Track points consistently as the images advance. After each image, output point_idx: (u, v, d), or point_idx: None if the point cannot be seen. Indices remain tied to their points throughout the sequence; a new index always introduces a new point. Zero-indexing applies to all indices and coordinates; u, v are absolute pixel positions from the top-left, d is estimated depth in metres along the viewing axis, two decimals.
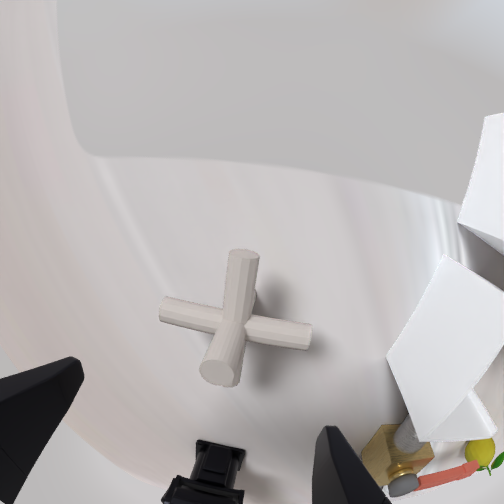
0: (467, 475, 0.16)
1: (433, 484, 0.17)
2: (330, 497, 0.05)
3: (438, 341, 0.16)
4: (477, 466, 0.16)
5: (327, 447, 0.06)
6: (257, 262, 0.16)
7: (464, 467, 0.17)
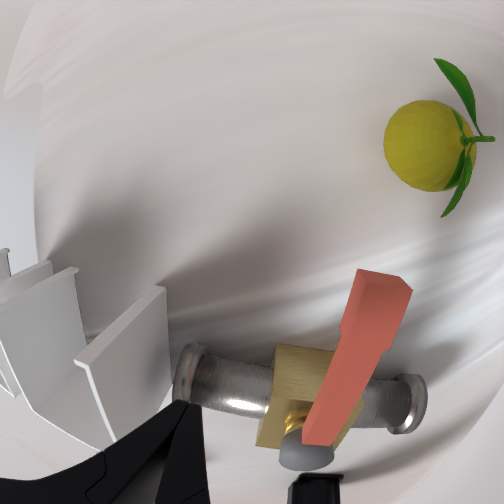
0: (391, 314, 0.10)
1: (331, 421, 0.12)
2: None
3: None
4: (361, 291, 0.10)
5: (180, 422, 0.07)
6: None
7: (342, 335, 0.12)
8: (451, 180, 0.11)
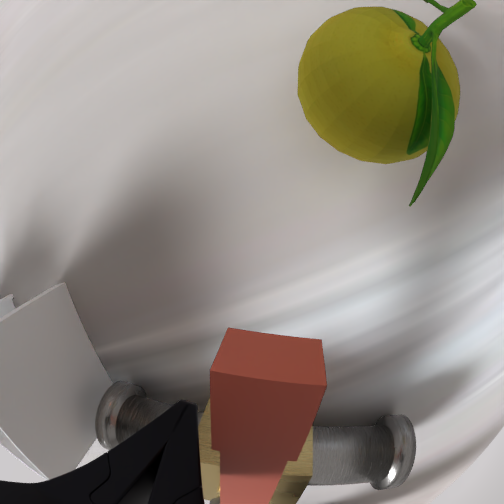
0: (284, 421, 0.05)
1: None
2: None
3: None
4: (213, 380, 0.05)
5: None
6: None
7: None
8: (417, 132, 0.05)
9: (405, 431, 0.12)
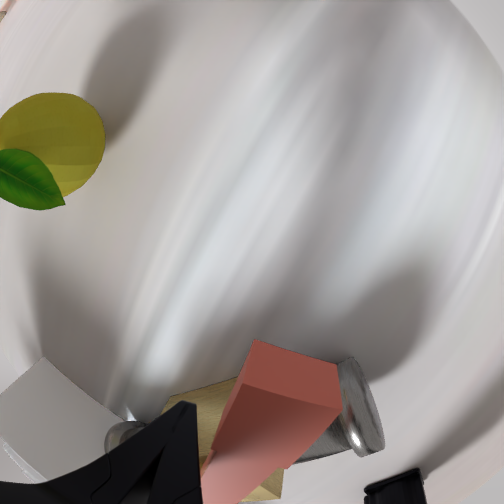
0: (293, 434, 0.05)
1: (213, 502, 0.07)
2: None
3: None
4: (237, 390, 0.05)
5: None
6: None
7: (218, 427, 0.07)
8: (23, 175, 0.08)
9: (341, 379, 0.11)
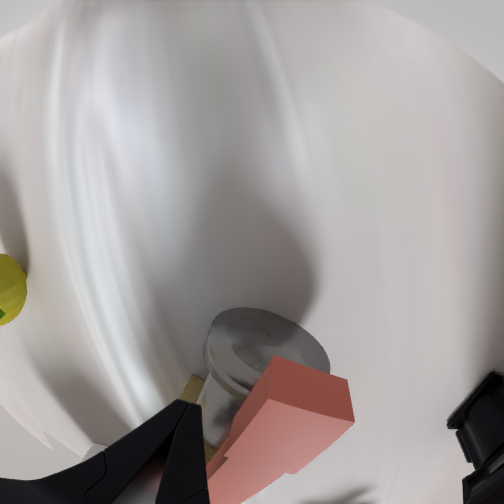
0: (306, 443, 0.05)
1: (212, 503, 0.08)
2: None
3: None
4: (260, 403, 0.05)
5: (180, 422, 0.07)
6: None
7: (230, 434, 0.07)
8: None
9: None
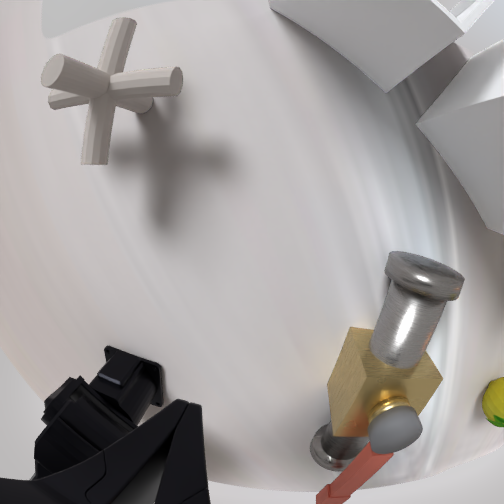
0: (326, 503, 0.16)
1: (366, 472, 0.14)
2: None
3: (500, 186, 0.11)
4: None
5: (180, 422, 0.07)
6: (131, 23, 0.11)
7: None
8: (501, 419, 0.15)
9: None
